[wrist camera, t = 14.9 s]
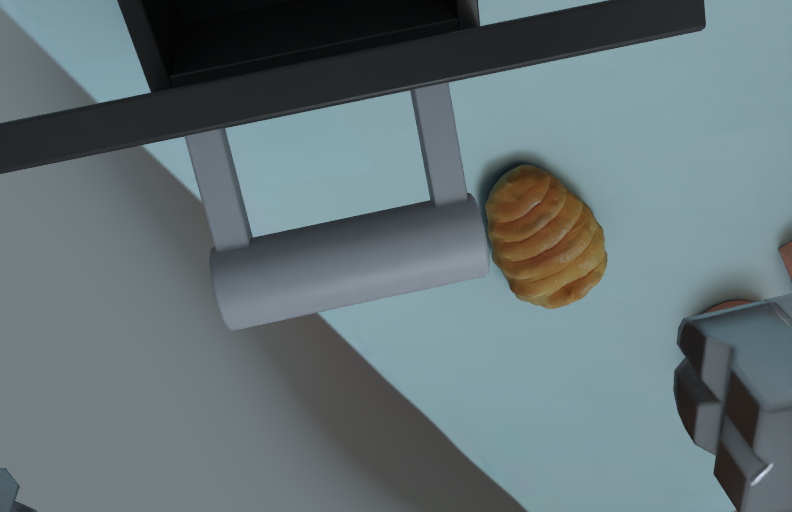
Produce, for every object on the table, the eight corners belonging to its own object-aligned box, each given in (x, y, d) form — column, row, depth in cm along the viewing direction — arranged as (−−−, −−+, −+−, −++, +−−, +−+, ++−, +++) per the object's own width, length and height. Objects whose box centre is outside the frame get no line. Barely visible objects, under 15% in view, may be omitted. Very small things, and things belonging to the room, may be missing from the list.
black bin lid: (-115, 145, 12) (-11, 419, 13) (704, -20, 13) (726, 260, 14) (149, 95, 30) (182, 214, 31) (482, 28, 30) (501, 148, 32)
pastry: (452, 195, 44) (468, 229, 41) (552, 136, 43) (576, 166, 40) (517, 295, 50) (535, 331, 46) (608, 245, 48) (632, 279, 45)
